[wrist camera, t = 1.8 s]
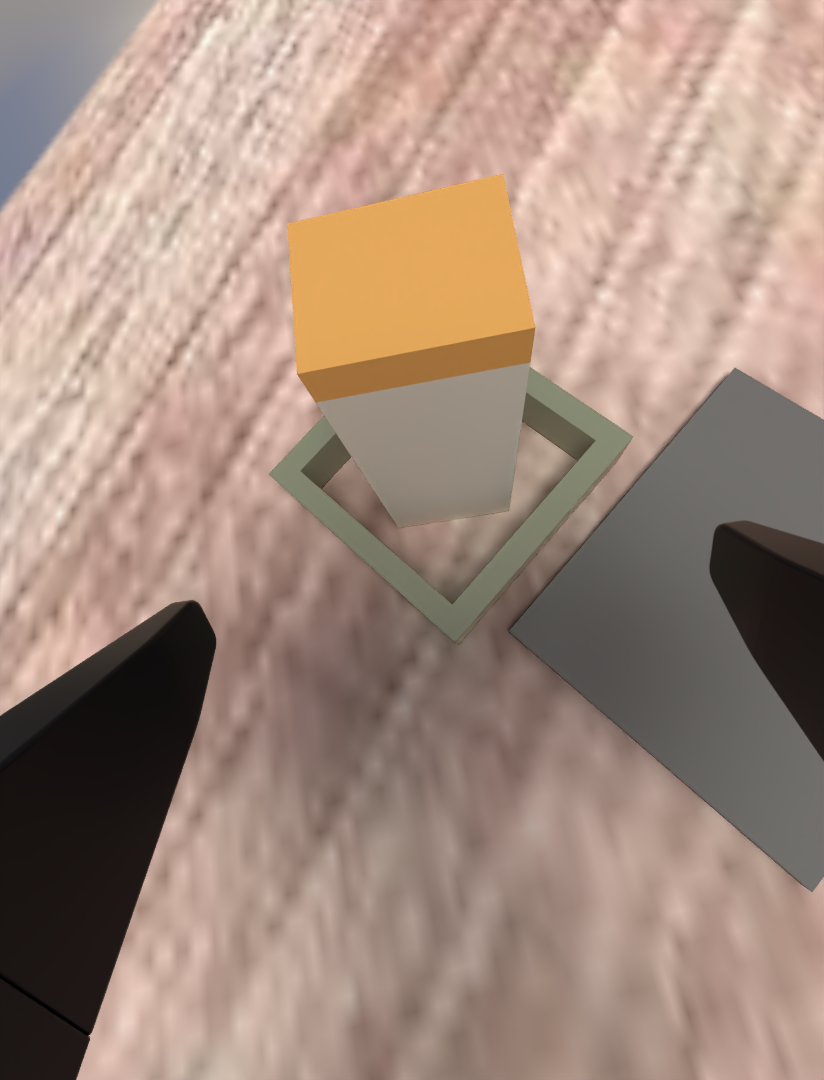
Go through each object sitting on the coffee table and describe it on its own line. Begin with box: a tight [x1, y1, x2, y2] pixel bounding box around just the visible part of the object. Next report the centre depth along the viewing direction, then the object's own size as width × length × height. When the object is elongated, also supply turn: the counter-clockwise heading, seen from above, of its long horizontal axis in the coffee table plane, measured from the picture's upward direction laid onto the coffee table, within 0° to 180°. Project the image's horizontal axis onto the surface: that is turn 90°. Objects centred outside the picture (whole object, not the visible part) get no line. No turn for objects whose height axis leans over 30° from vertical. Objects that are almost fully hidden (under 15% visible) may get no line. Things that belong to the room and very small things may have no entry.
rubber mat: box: [509, 368, 824, 892], centre depth 19 cm, size 15×13×1 cm
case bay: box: [269, 367, 633, 645], centre depth 21 cm, size 11×11×2 cm
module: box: [287, 174, 535, 528], centre depth 17 cm, size 4×5×12 cm
